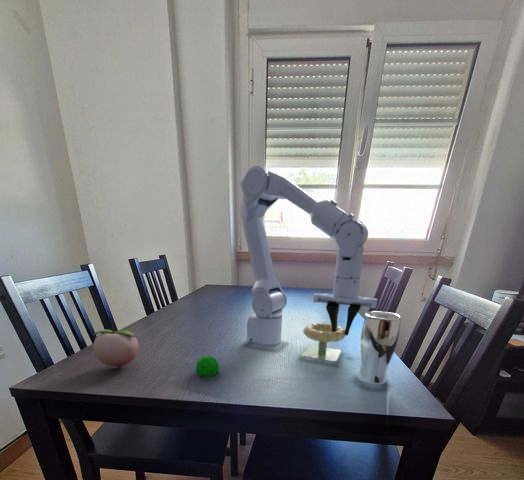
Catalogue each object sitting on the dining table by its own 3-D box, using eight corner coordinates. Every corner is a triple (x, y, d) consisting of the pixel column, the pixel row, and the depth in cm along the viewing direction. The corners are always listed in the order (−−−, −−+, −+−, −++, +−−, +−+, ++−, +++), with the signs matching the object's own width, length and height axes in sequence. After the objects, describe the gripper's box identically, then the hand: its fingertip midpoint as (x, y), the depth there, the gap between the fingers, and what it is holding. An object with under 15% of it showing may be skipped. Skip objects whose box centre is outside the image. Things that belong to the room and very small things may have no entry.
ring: (298, 339, 69) (299, 330, 69) (309, 328, 78) (310, 320, 78) (341, 345, 66) (342, 336, 65) (347, 333, 75) (349, 325, 74)
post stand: (300, 359, 72) (301, 336, 70) (309, 348, 80) (311, 327, 77) (335, 366, 69) (338, 342, 66) (341, 354, 76) (344, 332, 74)
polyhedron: (205, 370, 65) (204, 351, 63) (223, 374, 63) (223, 355, 61) (191, 379, 61) (190, 358, 59) (210, 384, 59) (209, 363, 57)
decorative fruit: (90, 377, 61) (80, 332, 57) (104, 362, 68) (96, 322, 65) (136, 374, 62) (129, 331, 59) (144, 360, 70) (139, 321, 66)
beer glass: (385, 394, 56) (399, 321, 51) (350, 384, 60) (360, 315, 54) (390, 380, 62) (404, 314, 56) (358, 373, 65) (368, 309, 60)
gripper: (312, 277, 64) (307, 333, 69) (379, 281, 59) (369, 342, 64) (319, 274, 70) (314, 326, 75) (381, 278, 65) (371, 334, 70)
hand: (340, 333), depth 70 cm, fingers closed on ring, 2 cm apart
